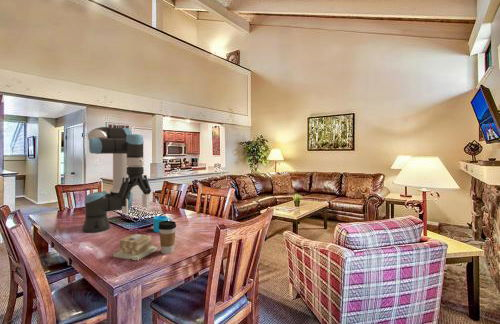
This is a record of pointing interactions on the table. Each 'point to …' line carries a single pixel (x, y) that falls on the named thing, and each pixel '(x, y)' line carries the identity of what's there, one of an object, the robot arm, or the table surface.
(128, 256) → the base
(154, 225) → the mug
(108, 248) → the table surface
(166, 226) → the coffee cup
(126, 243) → the collar
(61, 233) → the table surface
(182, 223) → the table surface
